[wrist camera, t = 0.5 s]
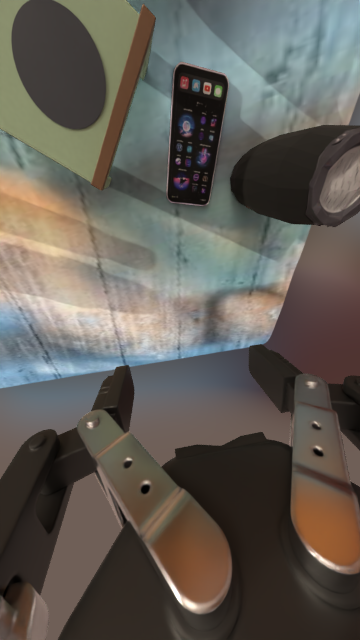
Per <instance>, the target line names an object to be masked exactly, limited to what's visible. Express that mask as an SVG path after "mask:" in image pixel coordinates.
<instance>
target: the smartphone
mask: <svg viewBox="0 0 360 640" xmlns="http://www.w3.org/2000/svg"><path fill="white" fill-rule="evenodd" d="M228 89H229V81H228V78H227V76H226V75H225V74H224V73H221V72H217V71H214V70H210V69H206V68H203V67H199V66H195V65H192V64H188V63H184V62H180V63H178V64H177V66H176V67H175V70H174V73H173V85H172V103H171V120H170V138H169V156H168V173H167V191H166V196H167V199H168V200H169V201H170V202H172V203H178V204H188V205H197V206H205V205H207V204H208V203H209V201H210V196H211V190H212V184H213V178H214V172H215V166H216V160H217V154H218V148H219V142H220V136H221V131H222V125H223V119H224V113H225V107H226V101H227V95H228Z"/></svg>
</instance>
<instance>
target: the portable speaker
mask: <svg viewBox="0 0 360 640" xmlns="http://www.w3.org/2000/svg"><path fill="white" fill-rule="evenodd" d="M231 190H232V192H233V193H234V195H235V197H236V199H237V200H238V202H239V203H241V204H243V205H244V206H246V207H247V208H249V209H251V210H253V211H255V212H256V213H258V214H261V215H265V216H268V217H271V218H274V219H278V220H281V221H284V222H287V223H291V224H306V225H318V226H321V225H327V226H333V227H336V226H338V225H340V224H341V223H343V222H344V221H346V220H348V219H349V218H351V217H353V216H354V215H356V214H357V213H358V212H359V211H360V126H348V125H322V126H317V127H313V128H309V129H304V130H300V131H296V132H291V133H287V134H283V135H279V136H277V137H275V138H272V139H270V140H267V141H265V142H263V143H261V144H259V145H257V146H256V147H254V148H252V149H250V150H249V151H248V152H247V153H246V154H245V155H244V156H242V158H241V159H240V160H239V161H238V163H237V164H236V165H235V166H234V170H233V173H232V176H231Z"/></svg>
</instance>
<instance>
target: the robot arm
mask: <svg viewBox="0 0 360 640" xmlns="http://www.w3.org/2000/svg"><path fill="white" fill-rule="evenodd" d="M249 371H250V373H251V375H252V376H253V378H254V379H255V380H256V382H257V383H258V384H259V385H260V387H261V388H262V389H263V390H264V392H265V393H266V394H267V395H268V397H269V398H270V399H271V401H272V402H273V403H274V404H275V406H276V407H277V408H278V410H279V411H280V412H281V413H284V412H289V411H290V413H291V426H290V442H289V445H287V444H284V443H282V442H278V441H274V440H268V439H266V438H265V436H264V434H263V432H259V433H254V434H249V435H244V436H240V437H238V438H236V439H235V440H232V441H230V442H228V443H226V444H225V445H222V446H211V445H193V446H188V447H183V448H177V449H175V453H176V457H175V458H173V459H171V460H170V461H168V462H167V463H165V464H164V465H163V466H162V467H161V466H160V465H159V464H158V463H157V462H156V461H155V460H154V458H153V457H152V456H151V455H150V454H149V453H148V452H147V451H146V449H144V447H143V446H142V445H141V444H140V443H139V441H138V440H137V439H136V438H135V437H134V436H133V435H132V434H131V433H130V432H129V427H130V420H131V413H132V407H133V400H134V385H133V380H132V376H131V372H130V367H129V365H125V366H119V367H116V369H115V372H114V375H113V376H108V377H107V378H106V379H105V380H104V381H103V383H102V386H101V389H100V390H99V394H98V396H97V398H96V400H95V403H94V405H93V408H92V410H91V412H89V413H88V414H86V415H85V416H83V418H81V419H80V421H79V422H78V424H77V427H76V428H74V429H72V430H70V431H67V432H65V433H63V434H60V435H57V433H56V431H54V430H52V429H48V430H43V431H41V432H38V433H36V434H35V435H33V436H32V437H30V438H29V439H28V440H27V441H26V442H25V443H24V444H23V445H22V446H21V448H20V449H19V451H18V452H17V454H16V455H15V457H14V459H13V460H12V462H11V463H10V465H9V466H8V468H7V470H6V471H5V473H4V474H3V476H2V478H1V479H0V640H46V636H47V630H48V624H49V611H48V607H47V605H46V603H45V602H44V601H43V599H42V598H41V597H40V593H41V591H42V588H43V584H44V581H45V577H46V574H47V571H48V568H49V564H50V561H51V558H52V554H53V551H54V547H55V544H56V541H57V538H58V534H59V531H60V528H61V524H62V521H63V518H64V514H65V511H66V508H67V504H68V501H69V498H70V494H71V491H72V488H73V485H74V482H76V481H78V480H80V479H82V478H84V477H85V476H87V475H89V474H91V473H93V472H94V474H95V476H96V478H97V480H98V482H99V484H100V486H101V488H102V489H103V491H104V493H105V495H106V497H107V499H108V501H109V503H110V505H111V507H112V509H113V512H114V514H115V516H116V518H117V520H118V522H119V524H120V526H121V528H122V530H121V532H120V533H119V535H118V537H117V538H116V540H115V542H114V543H113V545H112V547H111V549H110V550H109V552H108V554H107V555H106V557H105V559H104V560H103V562H102V564H101V565H100V567H99V569H98V570H97V572H96V574H95V576H94V577H93V579H92V580H91V582H90V584H89V585H88V587H87V589H86V591H85V592H84V594H83V596H82V597H81V599H80V601H79V602H78V604H77V606H76V607H75V609H74V611H73V612H72V614H71V616H70V618H69V619H68V621H67V623H66V625H65V626H64V628H63V630H62V632H61V634H60V636H59V638H58V640H360V487H359V486H357V485H356V484H354V483H352V482H351V481H350V477H349V472H348V466H347V461H346V456H345V451H344V446H343V441H342V436H341V432H342V433H343V434H344V435H345V436H346V437H347V438H348V439H349V440H350V441H351V442H352V443H353V444H354V445H355V446H356V447H357V448H358V449H359V450H360V376H348V377H346V378H345V379H344V383H343V384H327V382H326V381H325V380H323V379H322V378H320V377H318V376H315V375H312V374H303V373H302V372H301V371H300V370H298V369H297V368H296V367H294V366H293V365H292V364H291V363H289V361H287V360H286V359H284V357H282V356H281V355H280V354H279V353H276V352H274V351H272V350H268V349H267V348H266V347H265V346H263V345H262V344H259V345H253V346H250V347H249Z"/></svg>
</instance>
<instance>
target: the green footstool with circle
mask: <svg viewBox="0 0 360 640" xmlns="http://www.w3.org/2000/svg"><path fill="white" fill-rule="evenodd" d="M155 20H156V18H155V16H154V15H153V14H152V13H151V12H150V11H149V10H148V8H147V7H146V6H145V5H144V4H143V5H142V8H141V12H140V15H139V14H138V13H137V12H136V11H135V9H134V8H133V7H132V6H131V5H130V4H129V3H128V2H127V1H126V0H0V129H2V130H3V131H5V132H7V133H8V134H10V135H12V136H13V137H15V138H17V139H19V140H20V141H22V142H24V143H25V144H27V145H29V146H30V147H32V148H34V149H35V150H37V151H39V152H40V153H42V154H44V155H45V156H47V157H49V158H51V159H52V160H54V161H56V162H57V163H59V164H61V165H62V166H64V167H66V168H67V169H69V170H71V171H72V172H74V173H76V174H77V175H79V176H81V177H83V178H84V179H86V180H88V181H89V182H91V185H93V186H94V187H96V188H98V189H99V190H101V191H102V190H104V189H105V188H107V187H109V185H110V182H111V178H110V177H109V173H110V170H111V167H112V164H113V161H114V157H115V154H116V151H117V148H118V145H119V142H120V139H121V135H122V132H123V129H124V126H125V123H126V120H127V117H128V113H129V110H130V107H131V104H132V101H133V98H134V95H135V91H136V88H137V85H138V82H139V79H140V78H141V79H142V80H144V78H145V75H146V72H147V68H148V62H149V56H150V50H151V44H152V39H153V32H154V26H155Z"/></svg>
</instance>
